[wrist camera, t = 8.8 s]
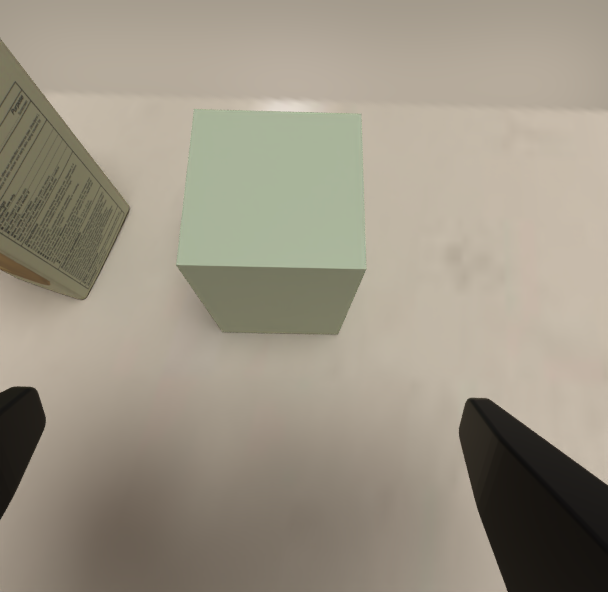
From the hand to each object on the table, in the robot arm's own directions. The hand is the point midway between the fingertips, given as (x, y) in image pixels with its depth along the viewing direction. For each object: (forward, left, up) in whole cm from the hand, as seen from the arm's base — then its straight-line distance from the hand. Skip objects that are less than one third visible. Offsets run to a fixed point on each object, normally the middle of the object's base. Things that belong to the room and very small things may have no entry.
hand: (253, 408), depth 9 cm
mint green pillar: (+4, +7, -13) cm, 15 cm away
